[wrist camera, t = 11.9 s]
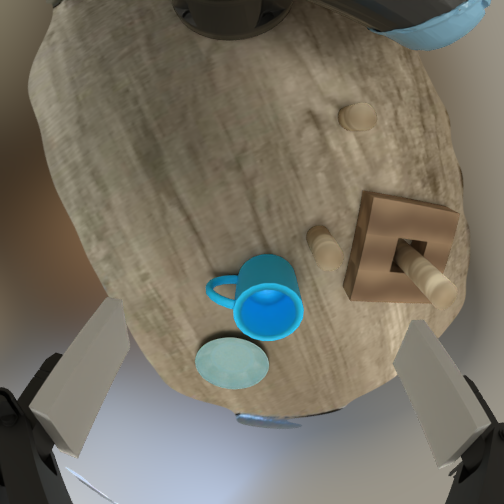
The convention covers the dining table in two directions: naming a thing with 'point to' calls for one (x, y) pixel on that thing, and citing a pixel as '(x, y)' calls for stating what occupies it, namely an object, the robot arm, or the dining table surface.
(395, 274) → the collar block
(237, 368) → the saucer
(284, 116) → the dining table surface
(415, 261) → the dowel long
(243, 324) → the mug
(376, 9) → the robot arm
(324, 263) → the dowel mid
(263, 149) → the dining table surface
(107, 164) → the dining table surface
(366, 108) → the dowel short
